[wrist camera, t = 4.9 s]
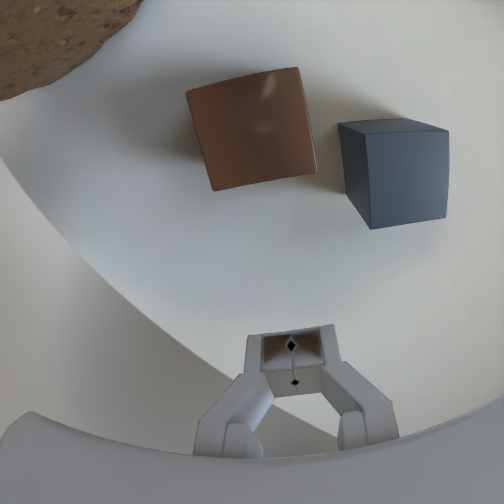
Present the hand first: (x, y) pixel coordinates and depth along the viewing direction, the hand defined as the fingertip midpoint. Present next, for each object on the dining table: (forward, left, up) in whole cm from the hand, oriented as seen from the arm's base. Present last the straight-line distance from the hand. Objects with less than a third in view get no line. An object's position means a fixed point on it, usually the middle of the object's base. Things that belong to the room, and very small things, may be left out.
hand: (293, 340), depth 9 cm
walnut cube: (0, +6, -9) cm, 11 cm away
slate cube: (+6, +3, -9) cm, 11 cm away
